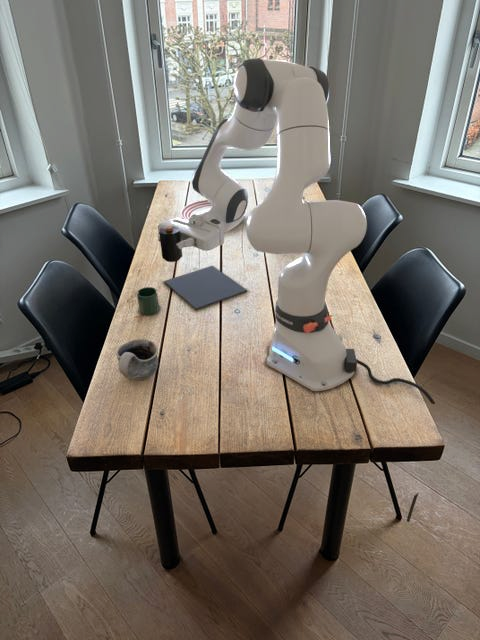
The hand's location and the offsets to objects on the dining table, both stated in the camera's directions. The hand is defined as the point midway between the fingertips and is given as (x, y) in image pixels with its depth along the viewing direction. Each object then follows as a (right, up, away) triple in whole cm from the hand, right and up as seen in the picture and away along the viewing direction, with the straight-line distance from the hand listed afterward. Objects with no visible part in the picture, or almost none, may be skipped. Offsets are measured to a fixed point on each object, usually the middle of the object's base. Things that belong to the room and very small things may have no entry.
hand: (168, 242), depth 132 cm
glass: (-6, -19, +5) cm, 20 cm away
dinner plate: (+9, +20, +63) cm, 67 cm away
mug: (-4, -36, -20) cm, 41 cm away
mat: (+9, -11, +15) cm, 21 cm away
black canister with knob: (+1, -4, +4) cm, 5 cm away
